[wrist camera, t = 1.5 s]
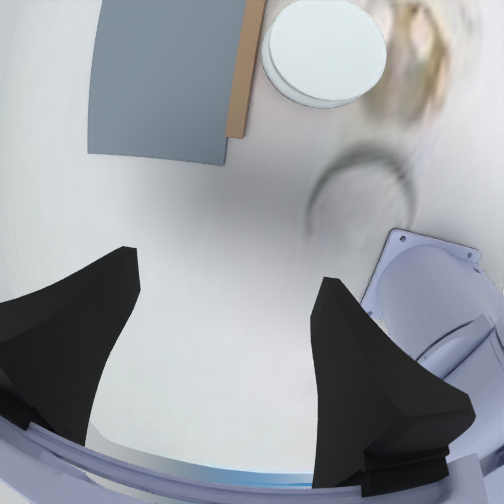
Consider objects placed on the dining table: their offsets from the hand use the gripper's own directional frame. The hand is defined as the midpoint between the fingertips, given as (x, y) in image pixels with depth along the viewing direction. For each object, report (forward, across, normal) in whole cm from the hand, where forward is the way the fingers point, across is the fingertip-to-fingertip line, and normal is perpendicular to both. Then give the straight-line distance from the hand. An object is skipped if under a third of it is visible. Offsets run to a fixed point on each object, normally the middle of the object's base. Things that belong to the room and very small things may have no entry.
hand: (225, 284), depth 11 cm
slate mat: (+10, +7, -9) cm, 15 cm away
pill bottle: (+10, -2, -9) cm, 13 cm away
